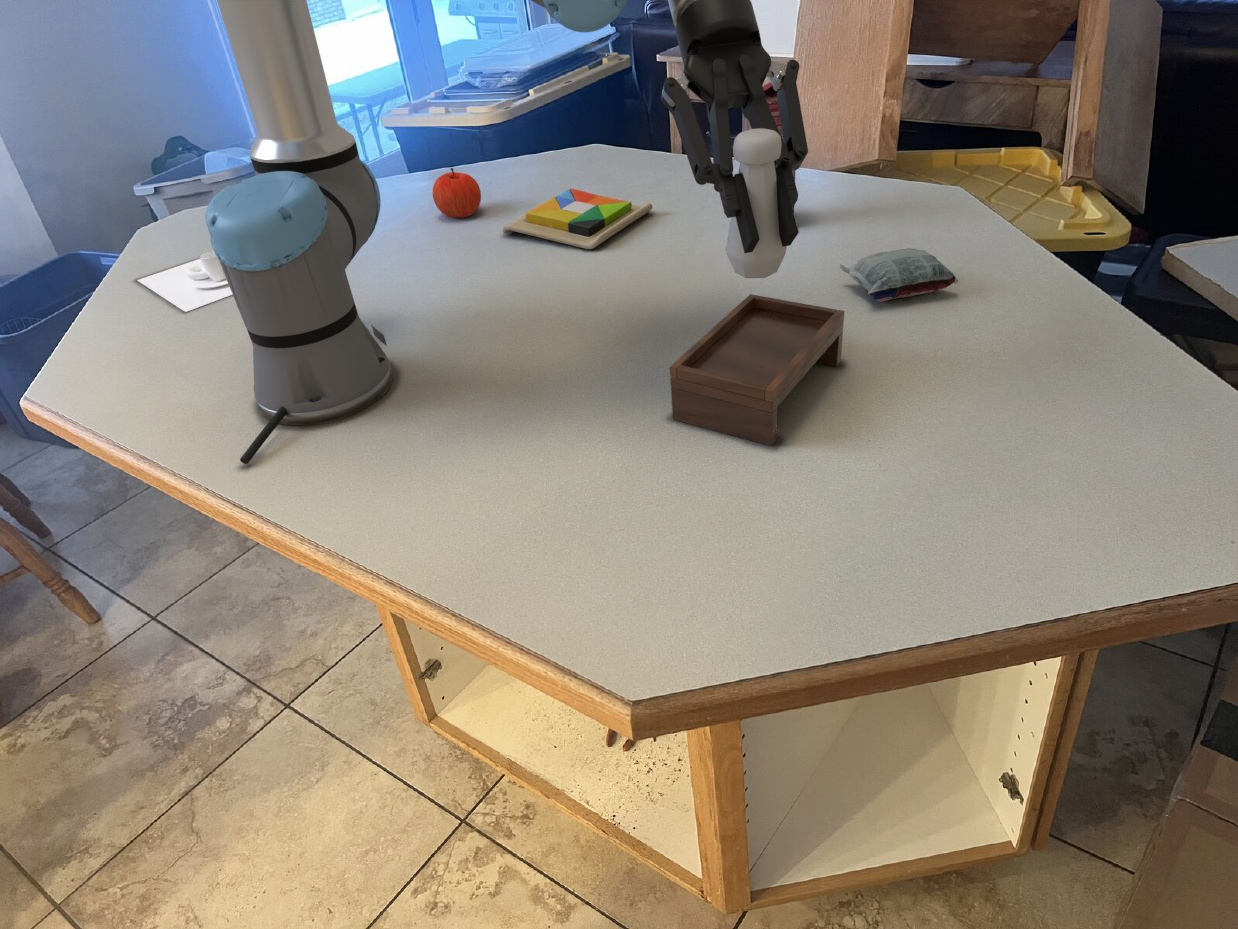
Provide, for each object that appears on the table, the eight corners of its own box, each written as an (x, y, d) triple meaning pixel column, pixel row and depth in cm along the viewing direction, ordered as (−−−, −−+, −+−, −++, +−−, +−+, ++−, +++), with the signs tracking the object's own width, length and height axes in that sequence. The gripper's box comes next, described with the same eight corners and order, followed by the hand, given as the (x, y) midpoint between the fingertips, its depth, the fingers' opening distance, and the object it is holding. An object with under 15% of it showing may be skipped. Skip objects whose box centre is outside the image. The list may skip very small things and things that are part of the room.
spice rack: (771, 446, 79) (772, 391, 75) (672, 419, 84) (669, 366, 81) (840, 362, 91) (844, 310, 87) (749, 342, 96) (750, 293, 92)
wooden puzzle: (598, 252, 123) (596, 229, 120) (499, 237, 131) (496, 216, 129) (656, 213, 134) (654, 191, 132) (561, 201, 143) (559, 181, 141)
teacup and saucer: (182, 281, 128) (171, 256, 126) (231, 264, 132) (221, 240, 130) (204, 295, 123) (194, 269, 120) (254, 276, 127) (245, 251, 124)
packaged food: (838, 284, 106) (841, 247, 103) (924, 269, 108) (929, 233, 105) (867, 313, 100) (871, 274, 97) (958, 297, 101) (965, 259, 98)
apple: (429, 217, 142) (418, 170, 138) (467, 204, 147) (458, 158, 142) (454, 226, 137) (443, 178, 133) (493, 212, 141) (484, 165, 137)
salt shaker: (784, 282, 78) (789, 140, 70) (724, 282, 79) (721, 142, 71) (786, 257, 82) (791, 121, 74) (729, 258, 83) (727, 124, 76)
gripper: (781, 31, 83) (840, 246, 79) (627, 52, 81) (679, 274, 78) (804, -26, 76) (869, 209, 72) (634, -3, 74) (693, 239, 70)
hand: (771, 242), depth 75 cm, fingers closed on salt shaker, 3 cm apart
